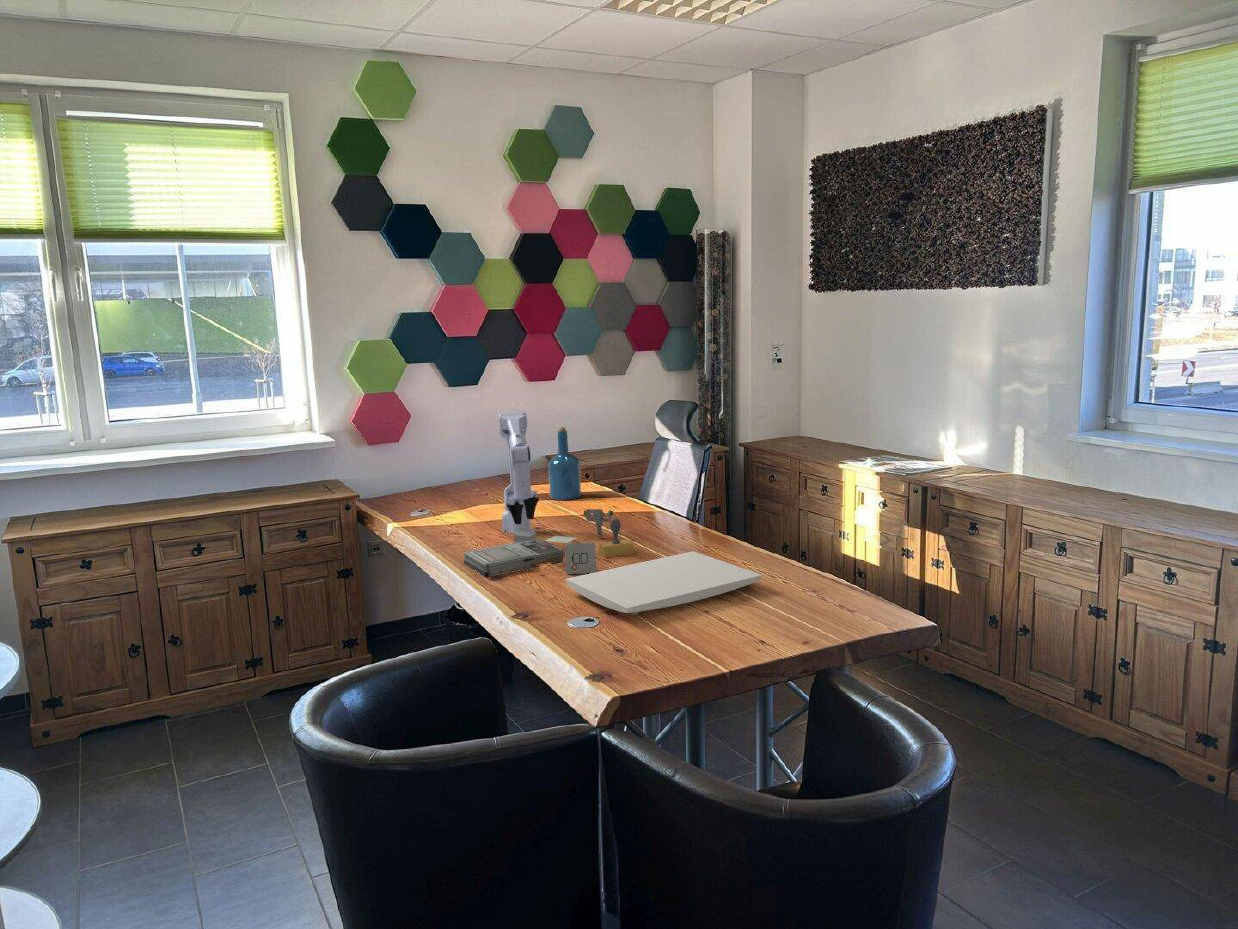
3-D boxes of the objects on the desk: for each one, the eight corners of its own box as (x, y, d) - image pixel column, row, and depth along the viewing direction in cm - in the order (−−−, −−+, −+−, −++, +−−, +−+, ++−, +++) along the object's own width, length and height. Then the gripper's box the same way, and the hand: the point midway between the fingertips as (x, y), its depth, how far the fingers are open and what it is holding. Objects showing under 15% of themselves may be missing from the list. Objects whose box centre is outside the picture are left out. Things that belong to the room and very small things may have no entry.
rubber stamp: (604, 558, 297) (603, 521, 295) (599, 553, 303) (597, 518, 301) (633, 554, 301) (632, 518, 298) (627, 550, 306) (626, 514, 304)
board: (627, 625, 235) (626, 608, 235) (566, 594, 262) (565, 578, 261) (762, 591, 259) (762, 575, 258) (693, 565, 286) (693, 551, 285)
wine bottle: (543, 499, 390) (539, 428, 385) (562, 493, 401) (559, 424, 395) (569, 502, 382) (565, 430, 377) (588, 496, 393) (585, 426, 388)
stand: (544, 544, 316) (544, 540, 316) (555, 540, 322) (555, 535, 322) (567, 547, 312) (567, 543, 312) (577, 542, 318) (577, 537, 318)
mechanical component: (613, 539, 320) (611, 511, 318) (584, 538, 322) (583, 510, 320) (614, 537, 323) (613, 509, 321) (586, 536, 325) (585, 509, 323)
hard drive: (463, 565, 297) (462, 552, 296) (539, 551, 310) (539, 538, 309) (485, 578, 281) (484, 564, 280) (564, 563, 294) (563, 549, 293)
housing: (514, 545, 311) (513, 530, 310) (521, 542, 315) (520, 528, 314) (529, 546, 308) (528, 532, 308) (536, 543, 312) (535, 529, 311)
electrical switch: (565, 575, 280) (564, 544, 279) (566, 571, 285) (565, 542, 285) (596, 574, 280) (595, 543, 279) (596, 570, 285) (595, 541, 285)
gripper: (519, 486, 300) (522, 527, 302) (543, 478, 312) (545, 517, 315) (501, 485, 303) (504, 525, 305) (526, 477, 316) (528, 516, 318)
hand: (524, 521), depth 310 cm, fingers open, 7 cm apart
